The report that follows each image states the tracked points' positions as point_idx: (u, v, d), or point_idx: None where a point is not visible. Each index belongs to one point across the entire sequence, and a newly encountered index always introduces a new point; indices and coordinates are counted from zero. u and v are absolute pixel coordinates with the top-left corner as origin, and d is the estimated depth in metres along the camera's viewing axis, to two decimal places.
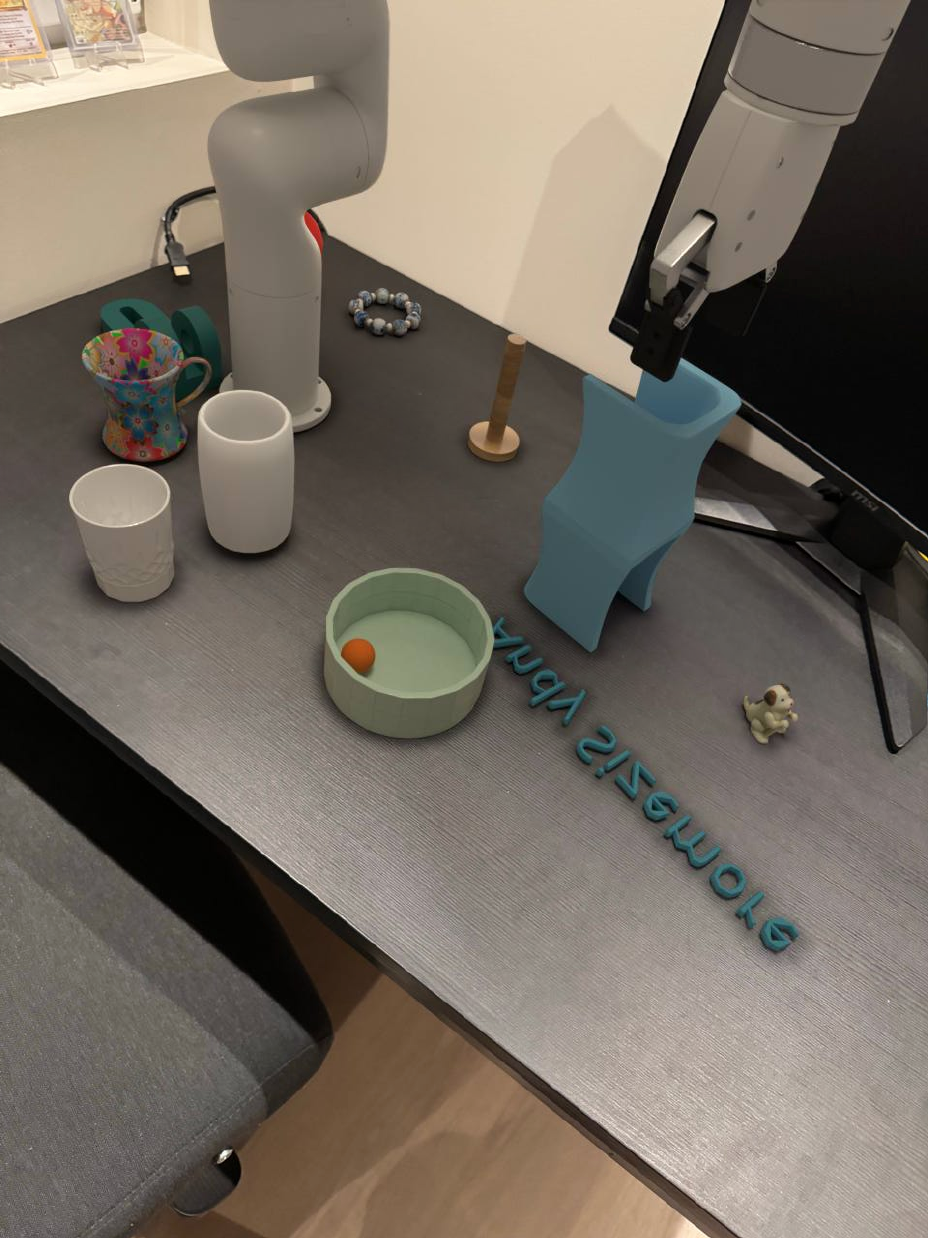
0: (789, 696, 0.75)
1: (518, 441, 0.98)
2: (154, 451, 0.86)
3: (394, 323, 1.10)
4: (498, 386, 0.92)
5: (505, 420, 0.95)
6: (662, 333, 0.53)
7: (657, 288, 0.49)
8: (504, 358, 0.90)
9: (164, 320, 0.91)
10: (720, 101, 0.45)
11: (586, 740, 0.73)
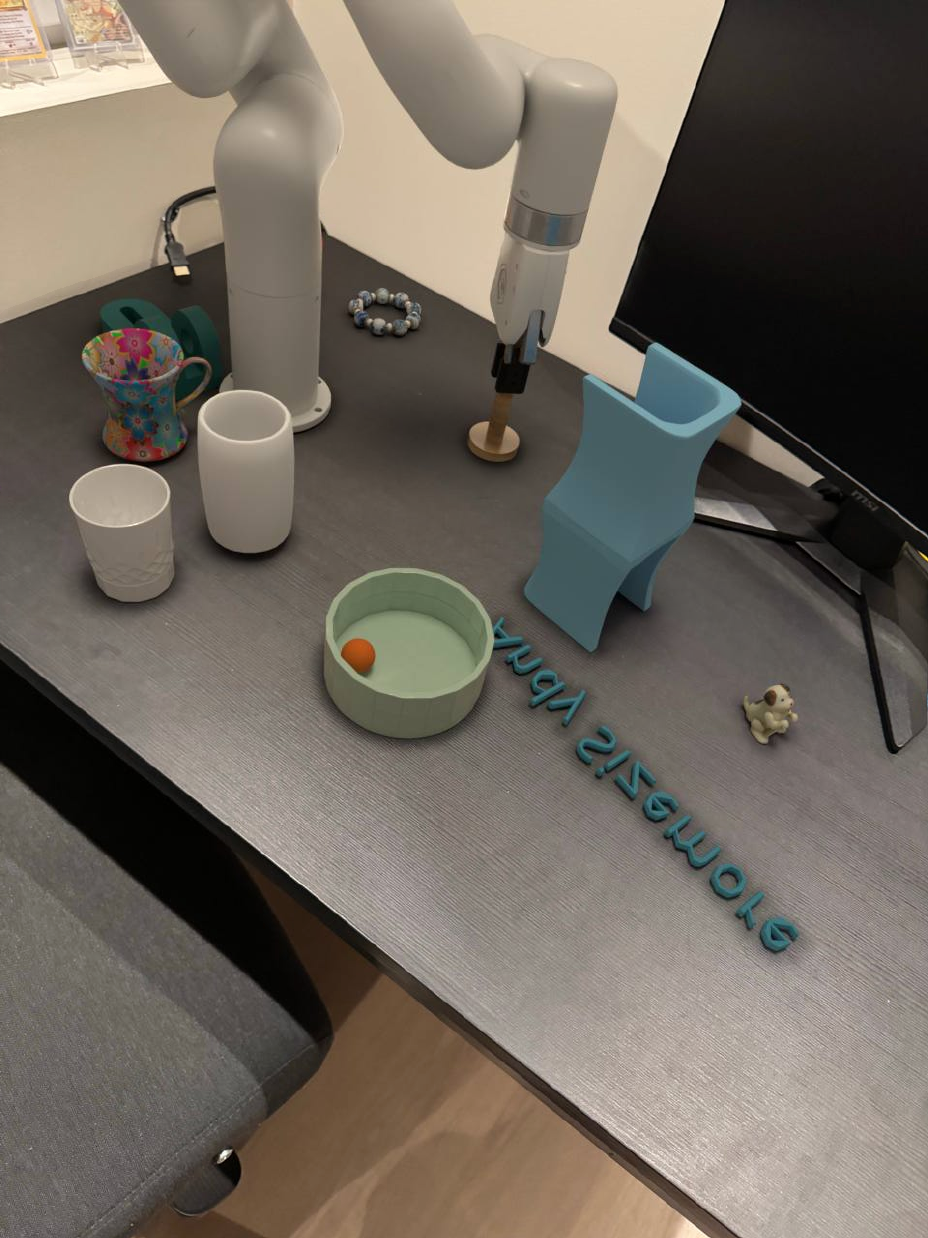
0: (789, 696, 0.75)
1: (518, 441, 0.98)
2: (154, 451, 0.86)
3: (394, 323, 1.10)
4: None
5: (505, 420, 0.95)
6: (518, 371, 0.89)
7: None
8: None
9: (164, 320, 0.91)
10: (527, 254, 0.77)
11: (586, 740, 0.73)
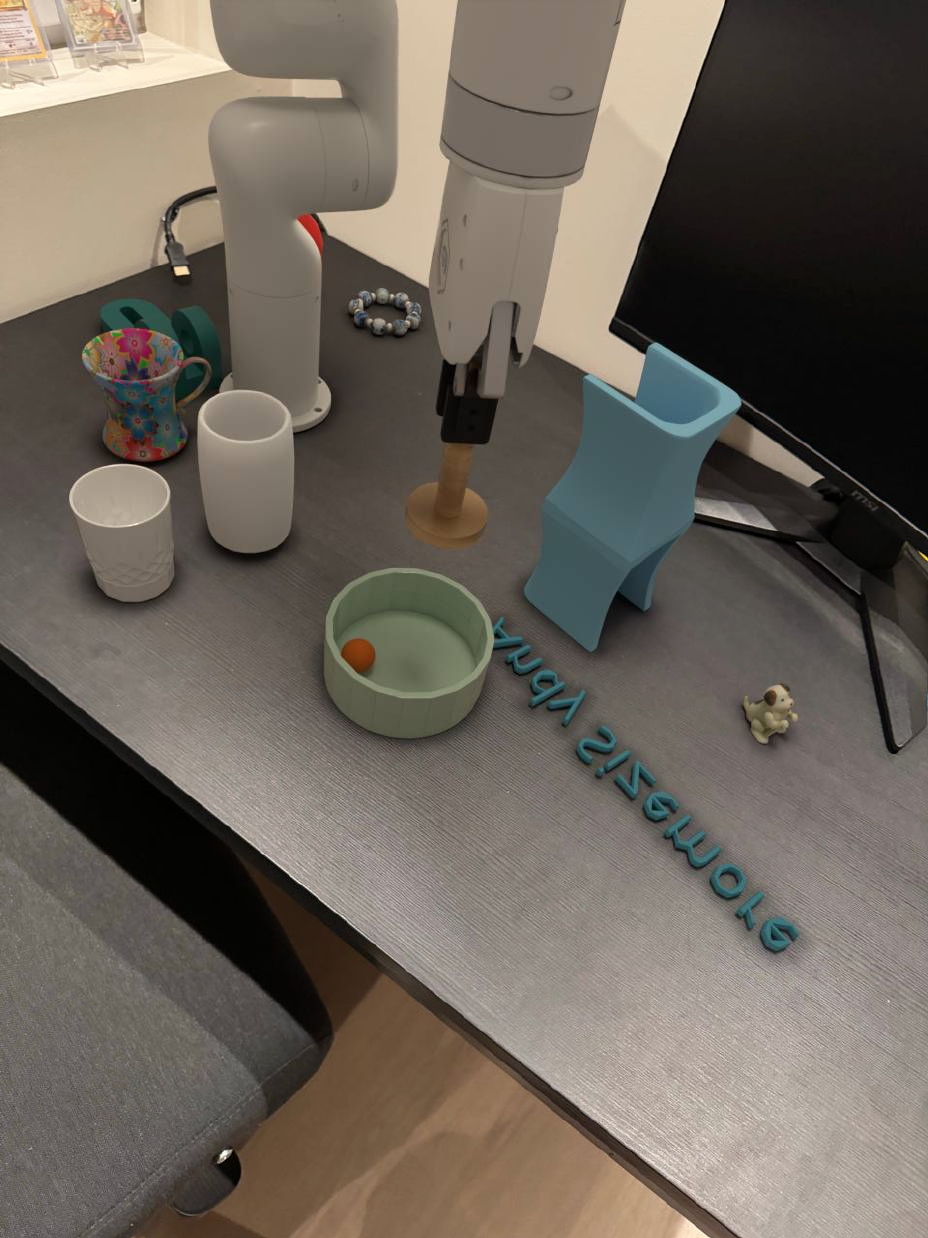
0: (789, 696, 0.75)
1: (486, 515, 0.61)
2: (154, 451, 0.86)
3: (394, 323, 1.10)
4: None
5: (463, 484, 0.59)
6: (479, 408, 0.52)
7: None
8: None
9: (164, 320, 0.91)
10: (484, 193, 0.40)
11: (586, 740, 0.73)
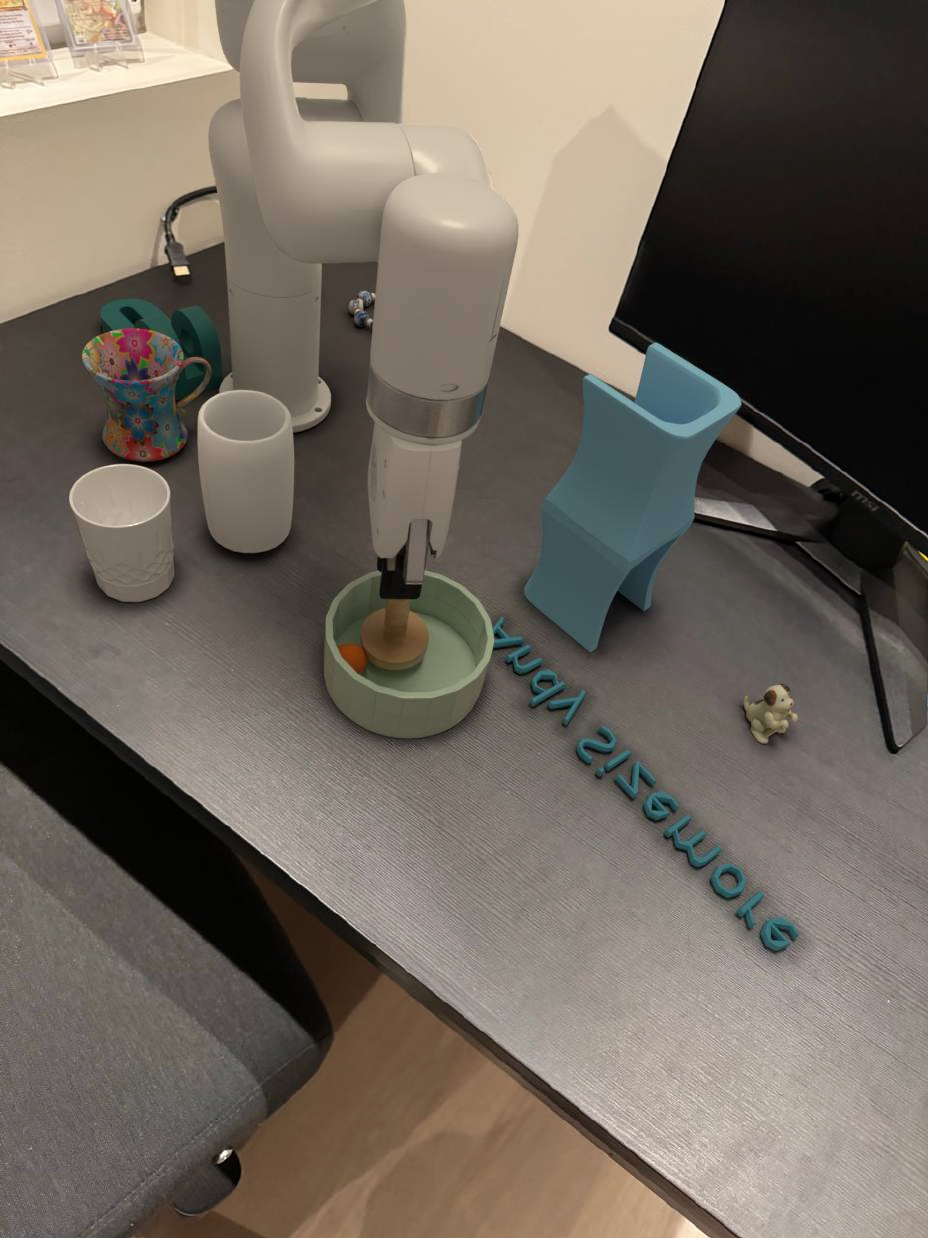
0: (789, 696, 0.75)
1: (427, 637, 0.74)
2: (154, 451, 0.86)
3: None
4: None
5: (405, 620, 0.71)
6: None
7: None
8: None
9: (164, 320, 0.91)
10: (398, 450, 0.52)
11: (586, 740, 0.73)
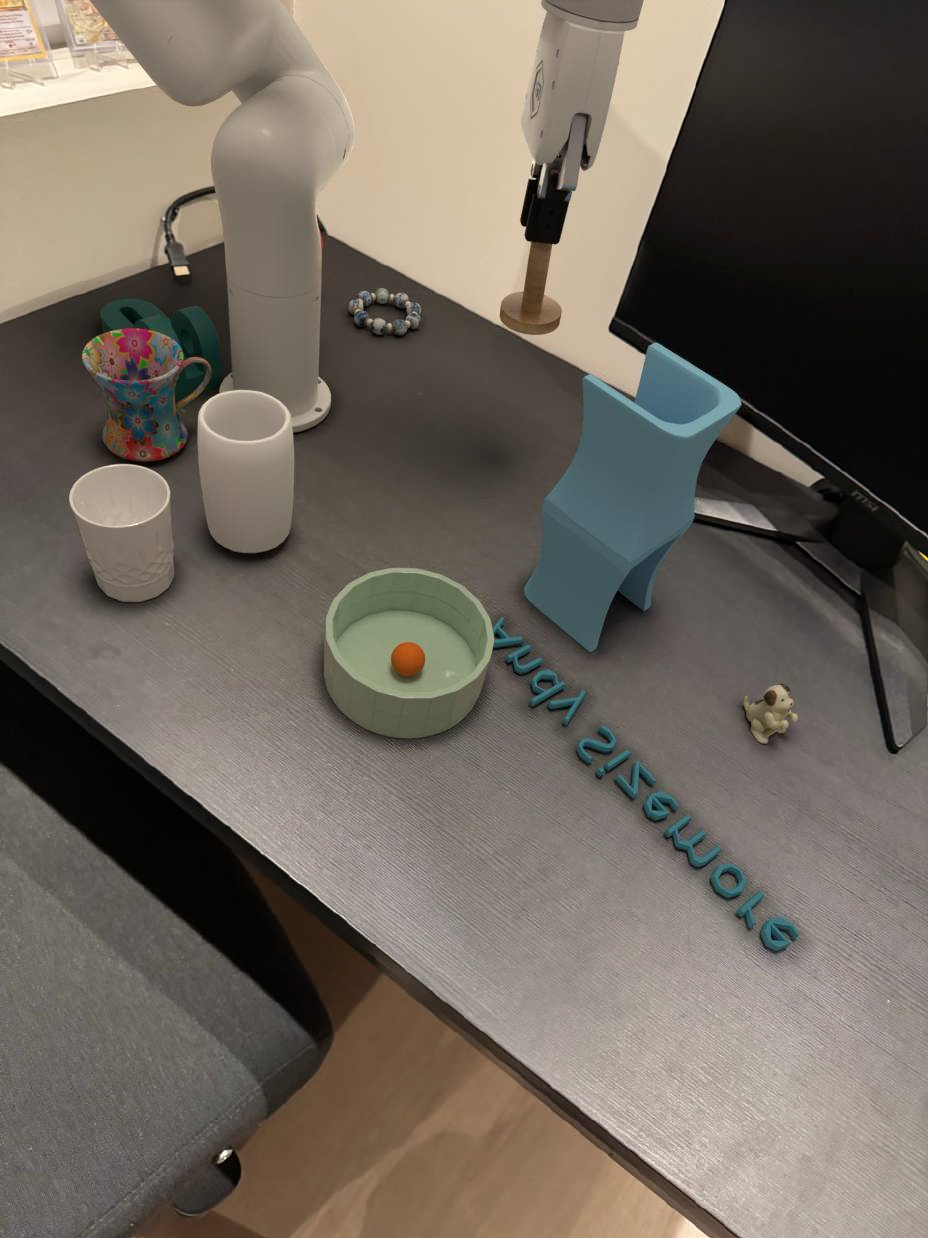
0: (789, 696, 0.75)
1: (560, 310, 0.82)
2: (154, 451, 0.86)
3: (394, 323, 1.10)
4: None
5: (543, 282, 0.80)
6: (554, 210, 0.73)
7: (564, 190, 0.69)
8: None
9: (164, 320, 0.91)
10: (572, 31, 0.61)
11: (586, 740, 0.73)
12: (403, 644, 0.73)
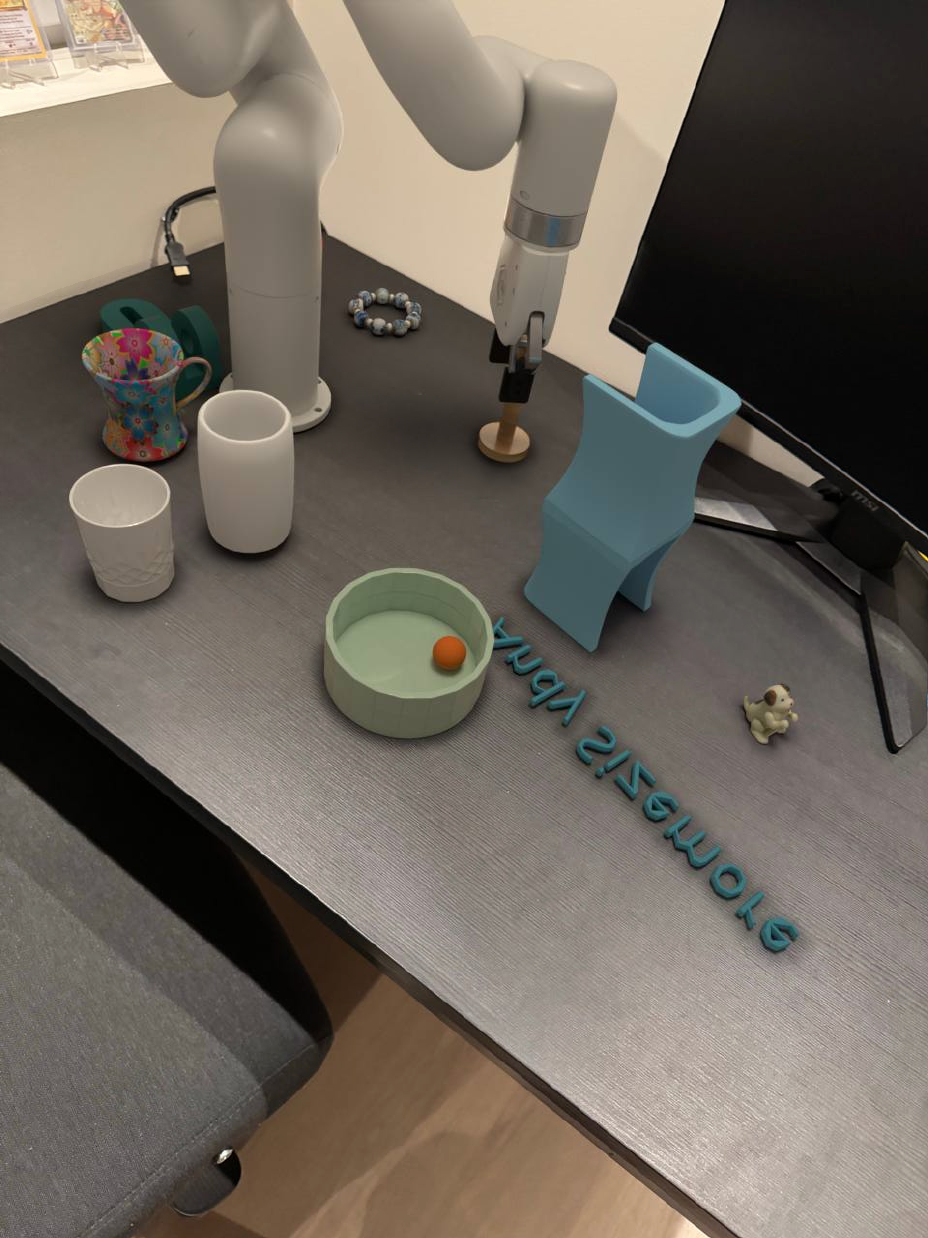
0: (789, 696, 0.75)
1: (528, 441, 0.99)
2: (154, 451, 0.86)
3: (394, 323, 1.10)
4: None
5: (516, 421, 0.96)
6: (523, 380, 0.87)
7: (531, 366, 0.83)
8: None
9: (164, 320, 0.91)
10: (527, 255, 0.77)
11: (586, 740, 0.73)
12: None
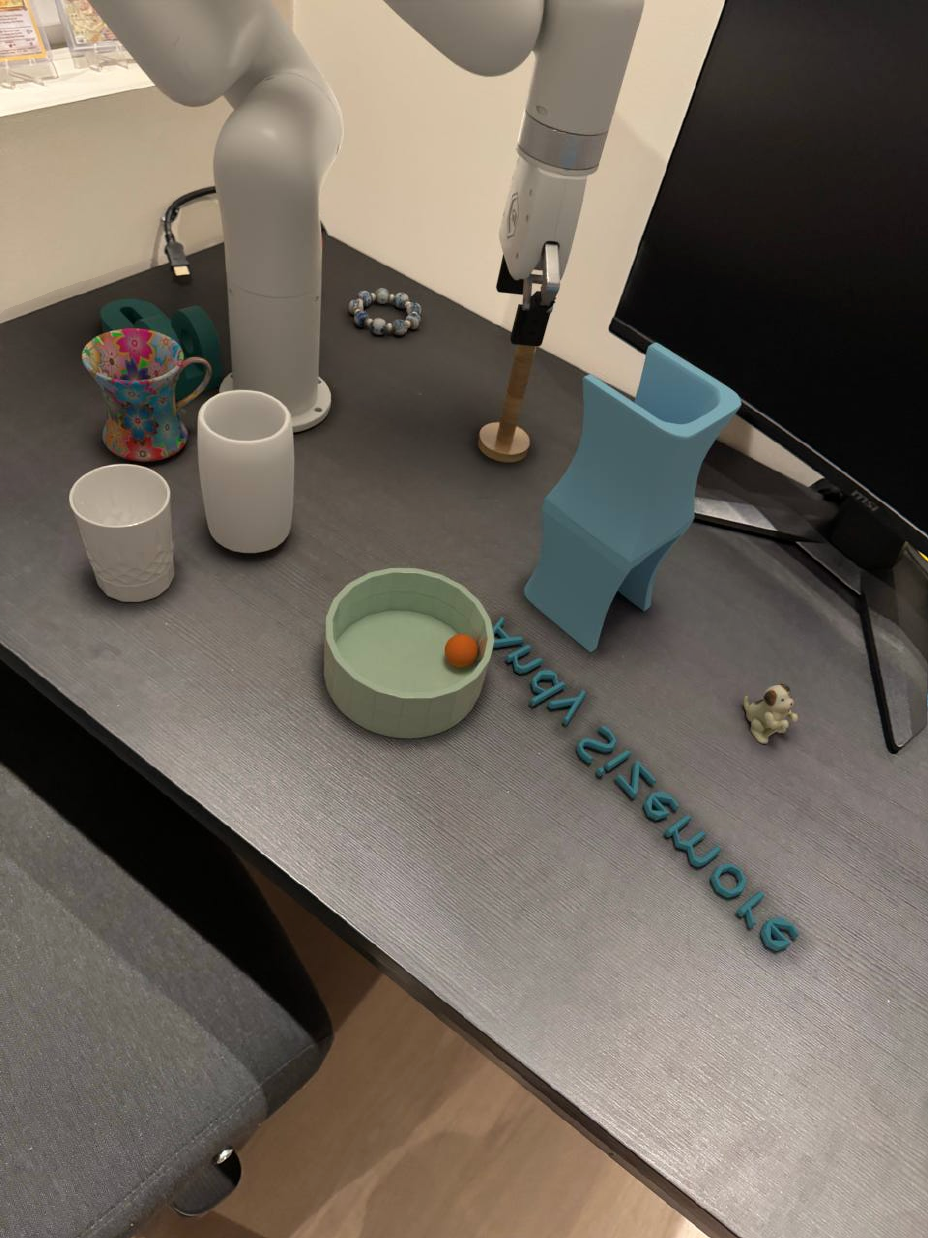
0: (789, 696, 0.75)
1: (528, 441, 0.99)
2: (154, 451, 0.86)
3: (394, 323, 1.10)
4: (509, 387, 0.93)
5: (516, 421, 0.96)
6: (537, 319, 0.81)
7: (548, 297, 0.77)
8: (515, 359, 0.90)
9: (164, 320, 0.91)
10: (543, 177, 0.72)
11: (586, 740, 0.73)
12: None
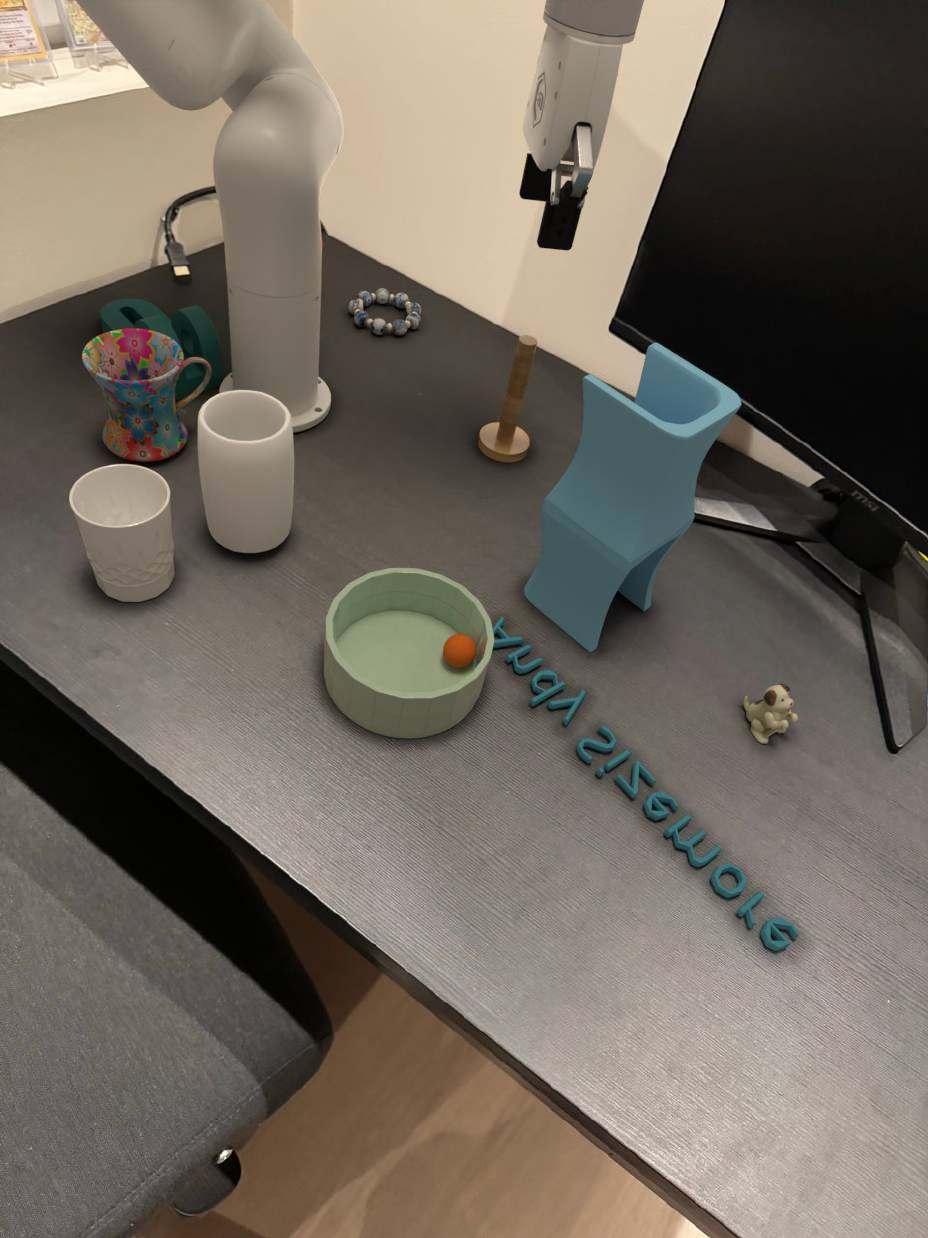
0: (789, 696, 0.75)
1: (528, 441, 0.99)
2: (154, 451, 0.86)
3: (394, 323, 1.10)
4: (509, 387, 0.93)
5: (516, 421, 0.96)
6: (567, 216, 0.73)
7: (580, 186, 0.69)
8: (515, 359, 0.90)
9: (164, 320, 0.91)
10: (574, 45, 0.65)
11: (586, 740, 0.73)
12: None
